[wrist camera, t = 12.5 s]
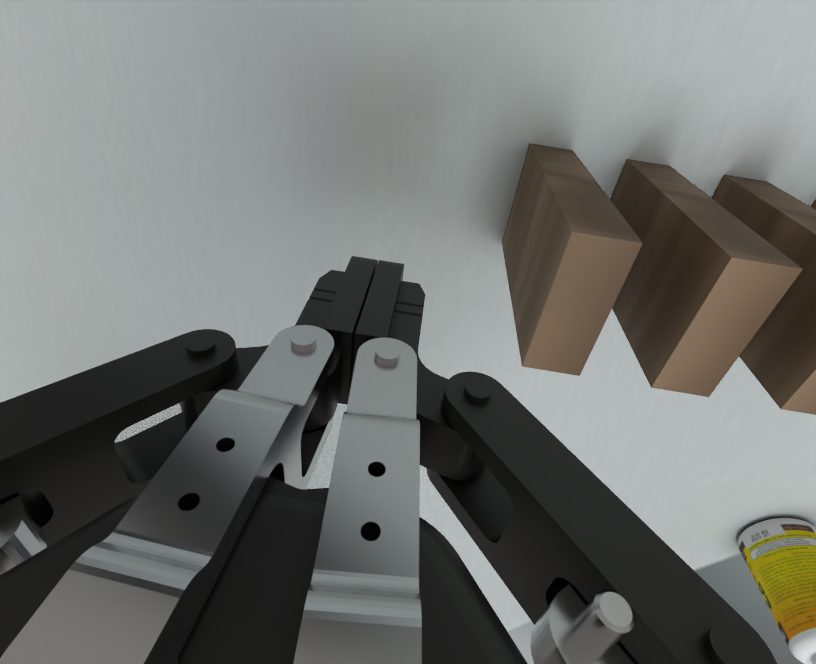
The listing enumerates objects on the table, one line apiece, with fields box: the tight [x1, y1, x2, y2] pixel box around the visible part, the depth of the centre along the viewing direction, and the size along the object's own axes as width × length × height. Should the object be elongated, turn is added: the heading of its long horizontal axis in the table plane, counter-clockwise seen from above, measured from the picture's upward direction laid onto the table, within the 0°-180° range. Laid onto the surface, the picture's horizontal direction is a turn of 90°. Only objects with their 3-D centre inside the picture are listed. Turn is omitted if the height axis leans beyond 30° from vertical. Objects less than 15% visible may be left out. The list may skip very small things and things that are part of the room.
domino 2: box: [610, 159, 803, 397], centre depth 18 cm, size 2×5×10 cm, turn 173°
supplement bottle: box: [738, 518, 816, 664], centre depth 31 cm, size 6×6×10 cm
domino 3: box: [712, 175, 816, 415], centre depth 18 cm, size 2×5×10 cm, turn 172°
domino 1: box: [502, 144, 643, 376], centre depth 18 cm, size 2×5×10 cm, turn 173°
